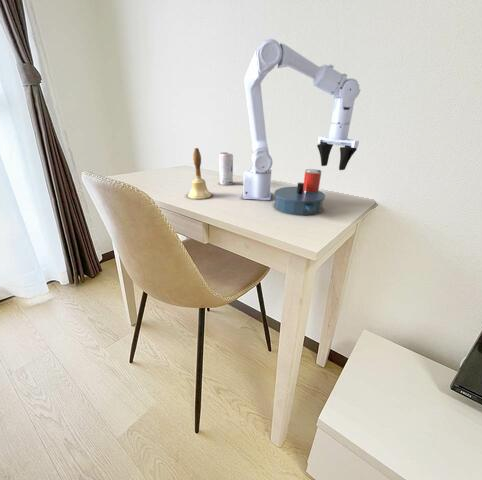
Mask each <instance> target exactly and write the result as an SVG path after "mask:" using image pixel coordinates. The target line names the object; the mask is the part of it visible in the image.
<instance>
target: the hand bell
mask: <svg viewBox="0 0 482 480" xmlns="http://www.w3.org/2000/svg"><path fill="white" fill-rule="evenodd" d="M192 159H193V165H194V167H195V179H193V180H191V181H192V182H191V189H190V192H188V194H187V198H189V199H193V200H204V199H209V198H210V197H212V193H211V192H210V191H209V189H208V187H207V183H206V180H205V179H204V178H202V173H201V165H202V155H201V151H200V149H199V147H194V150H193V155H192Z"/></svg>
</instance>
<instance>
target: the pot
mask: <svg viewBox="0 0 482 480" xmlns="http://www.w3.org/2000/svg"><path fill="white" fill-rule="evenodd" d="M274 205H275V208H276V210H278V211H279V212H282V213H284V214H289V215H295V216H312V215H316V214H319V213H320V212H322V209H323V205H324V200H322V201H319V202H314V203H298V202H291V201H286V200H283V199H280V198H278V197H277V196H276V195H275V203H274Z"/></svg>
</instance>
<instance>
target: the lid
mask: <svg viewBox="0 0 482 480" xmlns="http://www.w3.org/2000/svg"><path fill="white" fill-rule="evenodd" d="M303 186H304V182H297V185H296V186H285V187H280V188H278V189H275V190H274V195H275V197H276V196H277V197H278V198H280V199H283V200H286V201H291V202H298V203H314V202H319V201H322V200H323V201H324V200H325V199H326V195H325V193H324V192H322V191H320V190H319V191H318V192H317V193H306V192H304V191H303Z"/></svg>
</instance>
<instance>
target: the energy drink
mask: <svg viewBox="0 0 482 480" xmlns="http://www.w3.org/2000/svg"><path fill="white" fill-rule="evenodd" d="M218 161H219V162H218V163H219V165H218V166H219V167H218V169H219V184H220V185H222V186H231V185H233V184H234V156H233V152H229V151H227V152H226V151H225V152H219V154H218Z"/></svg>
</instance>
